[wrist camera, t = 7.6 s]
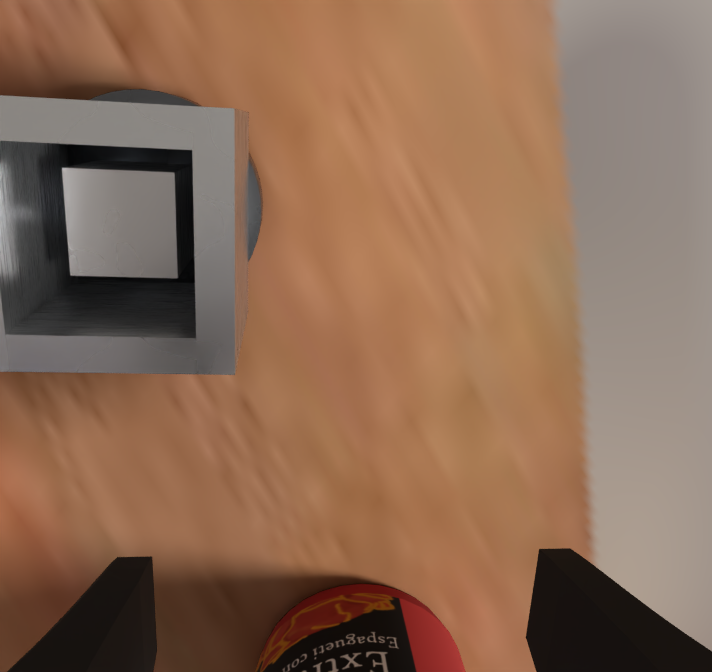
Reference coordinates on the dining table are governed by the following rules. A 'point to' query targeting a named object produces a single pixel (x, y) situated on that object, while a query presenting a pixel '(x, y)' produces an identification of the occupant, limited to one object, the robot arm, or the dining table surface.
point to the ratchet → (137, 206)
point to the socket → (119, 298)
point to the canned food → (360, 635)
